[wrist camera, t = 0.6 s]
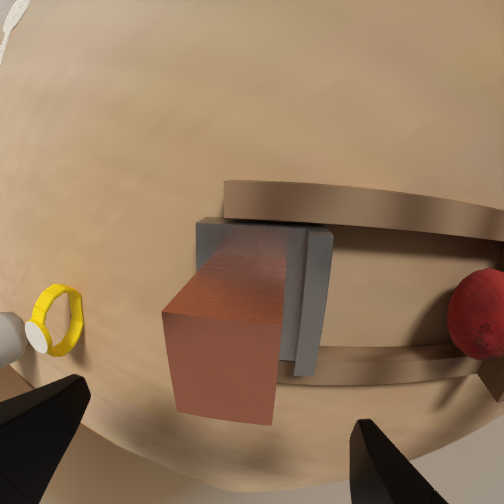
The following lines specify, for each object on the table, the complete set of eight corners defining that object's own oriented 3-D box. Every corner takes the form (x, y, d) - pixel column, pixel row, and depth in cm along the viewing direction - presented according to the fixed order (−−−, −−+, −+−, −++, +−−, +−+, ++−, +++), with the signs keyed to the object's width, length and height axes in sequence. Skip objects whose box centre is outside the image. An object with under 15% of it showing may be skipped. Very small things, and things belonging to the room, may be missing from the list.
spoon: (-21, 118, 18) (-24, 118, 18) (19, -6, 13) (17, -7, 13) (-2, 112, 18) (-6, 112, 17) (43, -21, 13) (41, -22, 12)
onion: (457, 337, 18) (504, 399, 10) (416, 306, 18) (467, 374, 10) (498, 279, 16) (559, 324, 8) (462, 239, 16) (535, 278, 8)
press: (325, 223, 17) (359, 277, 8) (311, 344, 19) (317, 449, 10) (206, 217, 17) (130, 261, 9) (209, 335, 20) (162, 429, 11)
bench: (518, 213, 14) (568, 230, 9) (478, 358, 18) (508, 399, 12) (231, 180, 17) (201, 184, 11) (230, 361, 20) (211, 418, 15)
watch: (66, 273, 21) (19, 294, 15) (89, 281, 21) (41, 306, 15) (69, 332, 22) (30, 360, 17) (91, 342, 22) (52, 374, 16)
